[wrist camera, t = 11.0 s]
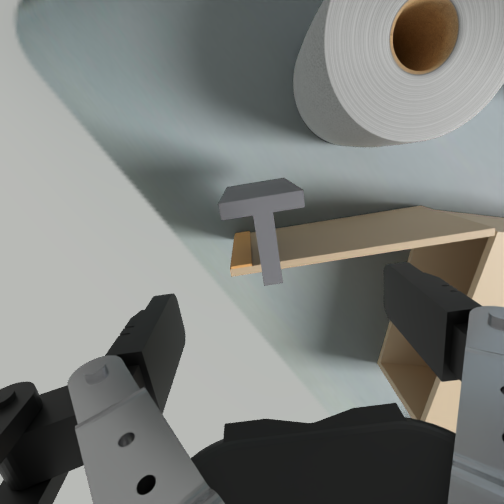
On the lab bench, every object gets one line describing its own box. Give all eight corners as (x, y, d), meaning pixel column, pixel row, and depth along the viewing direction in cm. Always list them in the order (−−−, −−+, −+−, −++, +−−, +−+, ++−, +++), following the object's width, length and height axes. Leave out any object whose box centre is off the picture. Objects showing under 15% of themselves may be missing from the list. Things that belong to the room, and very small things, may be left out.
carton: (423, 208, 32) (497, 231, 23) (562, 224, 33) (691, 253, 23) (377, 363, 38) (420, 432, 29) (495, 373, 39) (576, 443, 30)
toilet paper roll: (433, 113, 29) (547, 89, 18) (318, 168, 31) (360, 178, 20) (397, -25, 26) (511, -159, 15) (270, 44, 27) (287, -29, 16)
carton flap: (421, 150, 30) (558, 148, 17) (420, 210, 32) (542, 251, 19) (224, 182, 31) (209, 205, 17) (235, 240, 33) (228, 299, 19)
